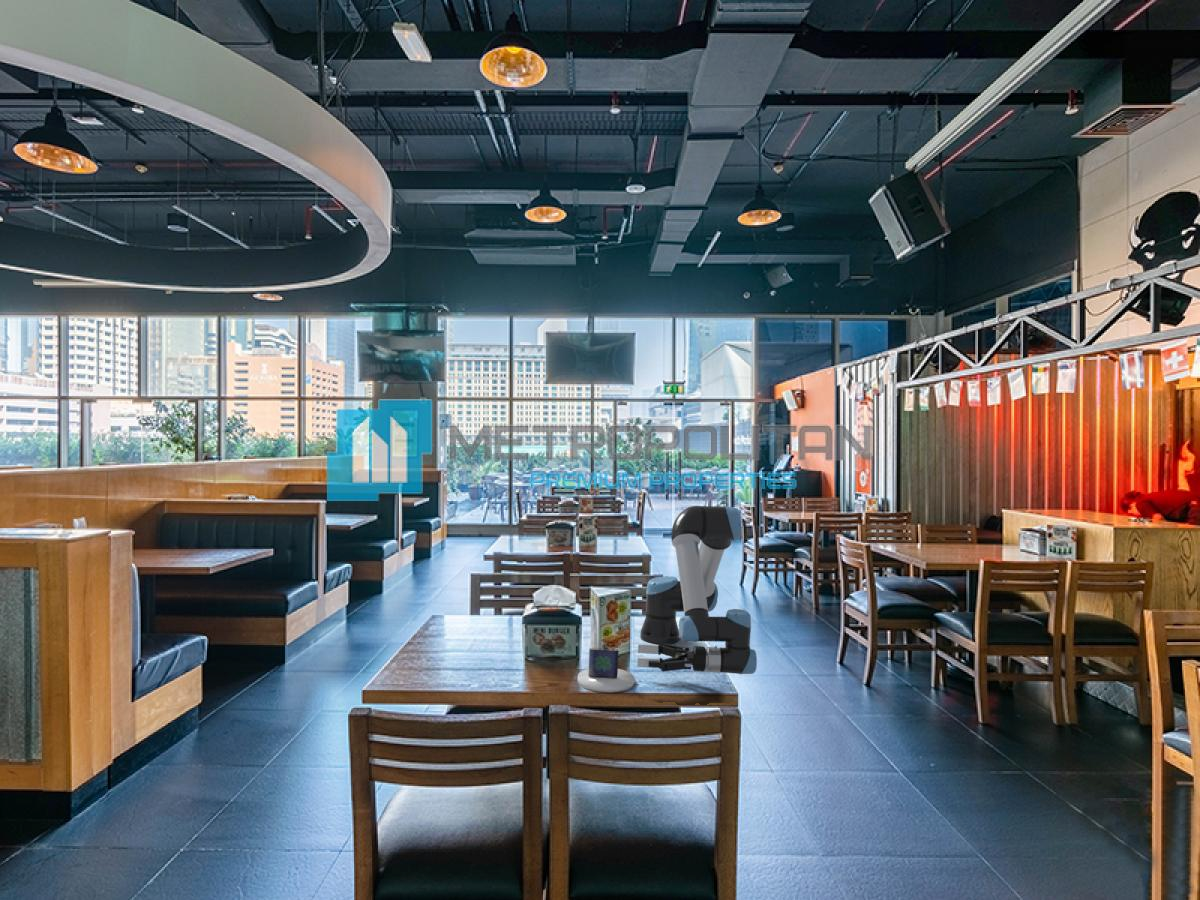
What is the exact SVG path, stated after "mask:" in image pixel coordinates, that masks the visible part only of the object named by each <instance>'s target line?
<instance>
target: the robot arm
mask: <svg viewBox="0 0 1200 900" xmlns="http://www.w3.org/2000/svg"><path fill="white" fill-rule="evenodd" d="M670 534H671V535H670V536H671V538H670V539H671V545H672V546H673V547H674V548H675V552H676V553H675V554H676V560H677V561H676V562H677V567H678V576H679V580H678V578H677V577H675V576H669V575H668V576H657V577H653V578H651V579H649V580H648V582H647V585H646V591H645V593H646V595H645V596H646V599H645V618H644V621H643V623H642V626H641V629H640V632H639V633H640V635H639V637H640V639H641V640H643V641H644V642H648V644H646V643H645V644H644V643H638V644H637V645H638V646H637V653H638V654H651V655H652V654H653V655H658V656H660V655H664V656H668V658H662V657H659V658H653V657H640V656H639V657H637V666H636V667H637V668H645V669H646V668H647V669H648V668H649V669H659V670H661V672H662V673H663V672H664V673H665V672H671V671H680V670H681V671H682V670H692V671H693V672H705V671H706V672H707V673H716V674H717V673H723V674H724V673H725V674H736V675H738V674H739V675H751V674H755V672H756V670H757V664H758V661H757V660H758V659H757V652H756V650H755V649H752V648H751V633H752V630H751V629H752V625H751V624H752V619H751V614H750V612H748V611H747V610H744V609H740V608H739V609H738V608H733V609H728V610H727V611H726V614H725V616H710V614H709V613H710V612H712V611H713V610H714V609H715V608H716V606H717V604H718V598H719V590H718V589H719V588H718V586H717V584H716V583H715V579H716V575H717V573H718V569H719V567H720V564H721V561H722V558H723V555H724V552H725V550H727V549H728V548H729V547H730V546H731V545H732V543H733V541H734V542H737V541H739V540H740V539H741V537H742V520H741V516H740V512H739V510H738V508H736V507H735V506H722V505H721V506H719V505H717V506H712V505H711V506H709V505H706V506H705V505H693V506H688V507H687V508H685V509H683V510H682V511H681V512H680V513H679V514H678V516H677V517H676V518H675V520H674V522H673V524H672V528H671V533H670ZM677 612H679V613H680V612H681V613H682V612H683V613H684V616H681V617H680V618H679V620H678V621H679V622H677V619H676V618H677ZM680 639H681V641H683V642H693V643H698V642H718V643H719V642H722V643H724V645H725V647H718V646H717V645H714V646H713V647H712V646H708V647H705V646H700V645H695V646H693V647H692V651H690V647H688V646H687V647H685V646H678V645H673V644H675V643H677V642H679V641H680ZM649 643H651V644H649Z"/></svg>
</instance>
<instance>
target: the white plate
mask: <svg viewBox="0 0 1200 900" xmlns="http://www.w3.org/2000/svg"><path fill="white" fill-rule="evenodd" d="M588 672H589V668H587V669H584V670H581V671H580V672H579V673H578V674H577V683H578V685H579V686H580V687H582V688H584V689H586V690H589V691H593V692H598V693H618V692H619V693H621V692H624V691H628V690H630V689H631V688H633V687H634V685H635V675H633V674H632V673H631V672H629V671H627V670H626V669H625V670H624V669H622V668H618V674H617V678H615V679H613V678H596V677H595V678H593V677H589V675H588Z"/></svg>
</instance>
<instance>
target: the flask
mask: <svg viewBox="0 0 1200 900" xmlns="http://www.w3.org/2000/svg"><path fill="white" fill-rule="evenodd" d="M606 644H607V642H602V643H601V647H590V648H588V649H589V651H588V653H589V655H588V669H589V672H588V675H589V677H593V678H595V677H596V678H613V679H615V678H617V674H618V669H619V668H618V665H619V650H618V648H614V647H612V646H611V647H609V646H607V645H606Z"/></svg>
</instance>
